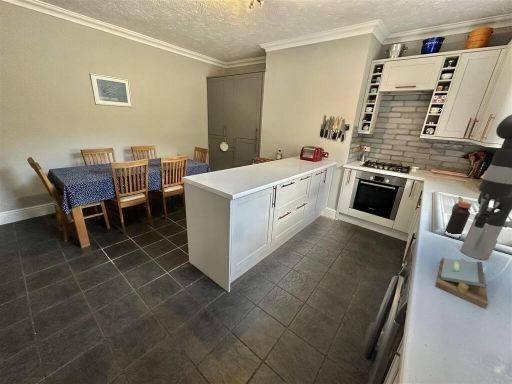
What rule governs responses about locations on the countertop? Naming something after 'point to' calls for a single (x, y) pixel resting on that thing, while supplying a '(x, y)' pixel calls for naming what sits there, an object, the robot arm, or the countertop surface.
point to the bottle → (458, 218)
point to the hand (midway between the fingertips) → (478, 226)
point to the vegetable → (457, 204)
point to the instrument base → (471, 292)
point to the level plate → (463, 272)
